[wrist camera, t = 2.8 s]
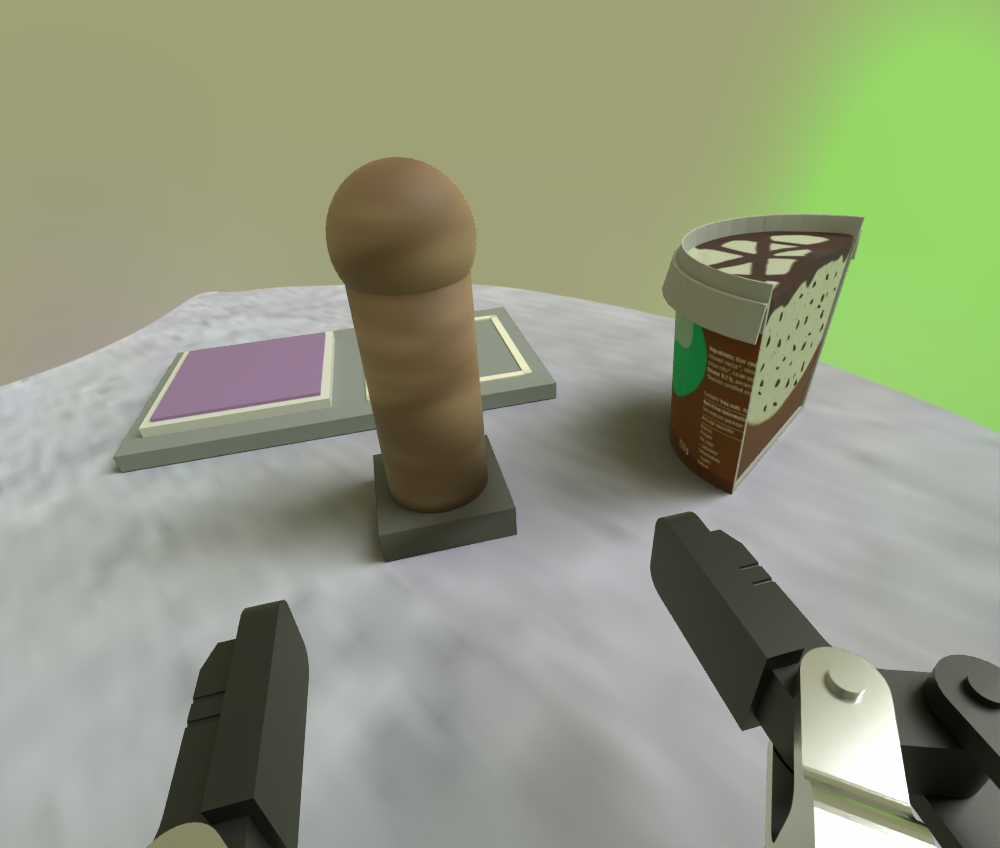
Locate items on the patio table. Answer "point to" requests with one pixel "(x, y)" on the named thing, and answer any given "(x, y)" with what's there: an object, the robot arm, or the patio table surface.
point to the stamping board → (299, 393)
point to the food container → (750, 332)
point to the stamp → (419, 355)
